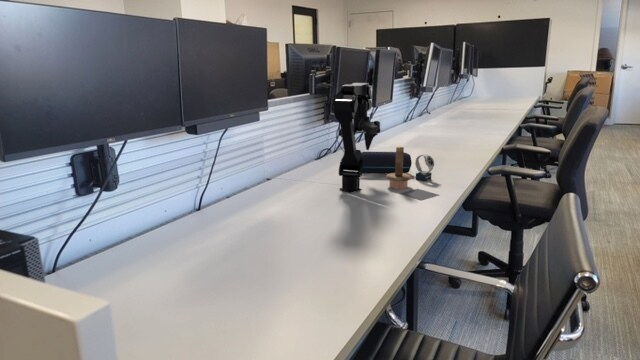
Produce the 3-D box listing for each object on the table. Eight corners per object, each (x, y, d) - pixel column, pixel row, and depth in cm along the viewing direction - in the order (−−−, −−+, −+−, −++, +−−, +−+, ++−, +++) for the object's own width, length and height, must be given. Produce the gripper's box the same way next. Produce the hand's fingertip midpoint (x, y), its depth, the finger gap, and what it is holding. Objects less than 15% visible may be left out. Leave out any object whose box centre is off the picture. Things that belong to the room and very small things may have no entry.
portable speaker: (409, 171, 209) (410, 150, 207) (411, 176, 200) (413, 154, 197) (355, 170, 211) (355, 149, 209) (355, 175, 202) (355, 153, 199)
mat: (421, 201, 165) (421, 200, 165) (398, 194, 173) (398, 193, 173) (440, 195, 171) (440, 194, 171) (417, 189, 180) (417, 188, 180)
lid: (399, 182, 175) (400, 150, 172) (381, 177, 183) (381, 147, 179) (416, 178, 181) (418, 147, 178) (397, 173, 189) (399, 144, 185)
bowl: (398, 190, 178) (399, 181, 177) (386, 187, 183) (386, 177, 182) (410, 187, 182) (411, 178, 181) (397, 184, 188) (398, 174, 187)
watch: (428, 182, 189) (430, 157, 186) (412, 179, 194) (413, 154, 192) (435, 180, 193) (436, 155, 190) (418, 177, 198) (420, 152, 195)
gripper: (356, 117, 173) (356, 157, 177) (390, 114, 184) (389, 151, 188) (338, 115, 182) (337, 153, 186) (371, 111, 193) (370, 147, 197)
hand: (359, 151), depth 189 cm, fingers open, 9 cm apart
